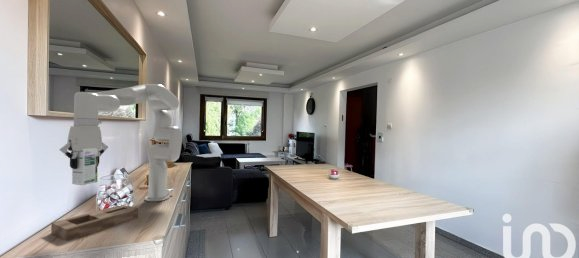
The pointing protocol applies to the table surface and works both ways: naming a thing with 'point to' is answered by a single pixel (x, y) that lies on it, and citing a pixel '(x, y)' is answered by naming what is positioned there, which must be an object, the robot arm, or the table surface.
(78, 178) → the syrup box
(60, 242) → the table surface
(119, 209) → the socket block
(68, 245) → the table surface
